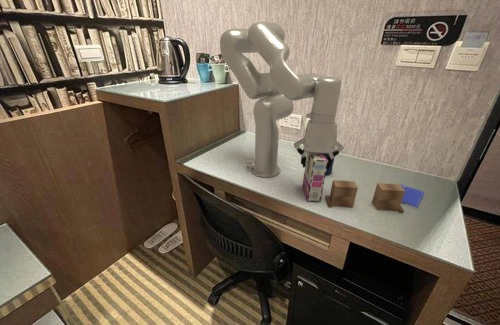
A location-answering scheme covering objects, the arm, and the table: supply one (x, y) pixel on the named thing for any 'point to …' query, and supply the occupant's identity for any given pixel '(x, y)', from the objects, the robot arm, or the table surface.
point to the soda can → (330, 166)
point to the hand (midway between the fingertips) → (315, 166)
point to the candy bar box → (314, 176)
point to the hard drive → (411, 197)
